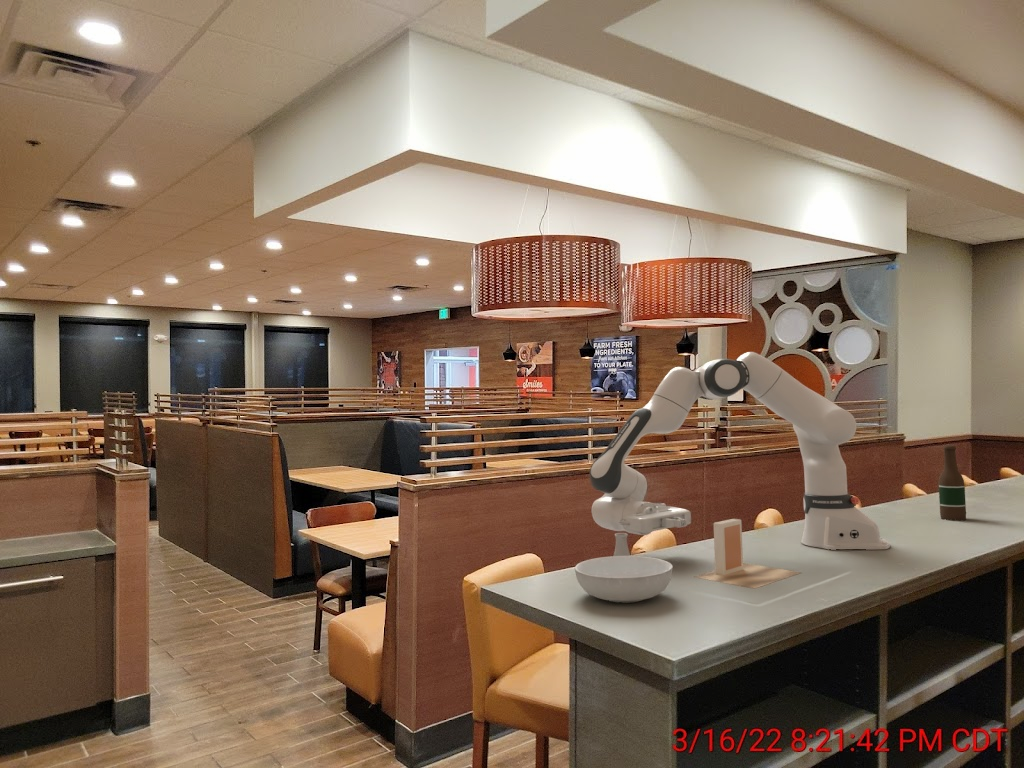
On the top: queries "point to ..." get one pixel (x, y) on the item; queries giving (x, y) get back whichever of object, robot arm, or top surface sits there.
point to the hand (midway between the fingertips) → (683, 523)
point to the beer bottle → (951, 488)
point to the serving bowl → (624, 577)
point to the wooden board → (750, 576)
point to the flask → (621, 545)
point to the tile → (728, 546)
